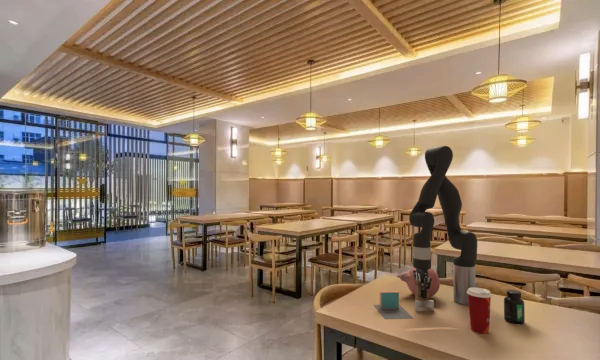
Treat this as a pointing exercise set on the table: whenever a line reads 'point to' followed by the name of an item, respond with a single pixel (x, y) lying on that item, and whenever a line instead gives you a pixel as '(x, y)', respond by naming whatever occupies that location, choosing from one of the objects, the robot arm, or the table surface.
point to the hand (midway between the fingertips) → (422, 296)
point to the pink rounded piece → (410, 281)
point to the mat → (394, 313)
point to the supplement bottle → (514, 308)
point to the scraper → (422, 299)
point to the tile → (389, 299)
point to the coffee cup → (479, 309)
